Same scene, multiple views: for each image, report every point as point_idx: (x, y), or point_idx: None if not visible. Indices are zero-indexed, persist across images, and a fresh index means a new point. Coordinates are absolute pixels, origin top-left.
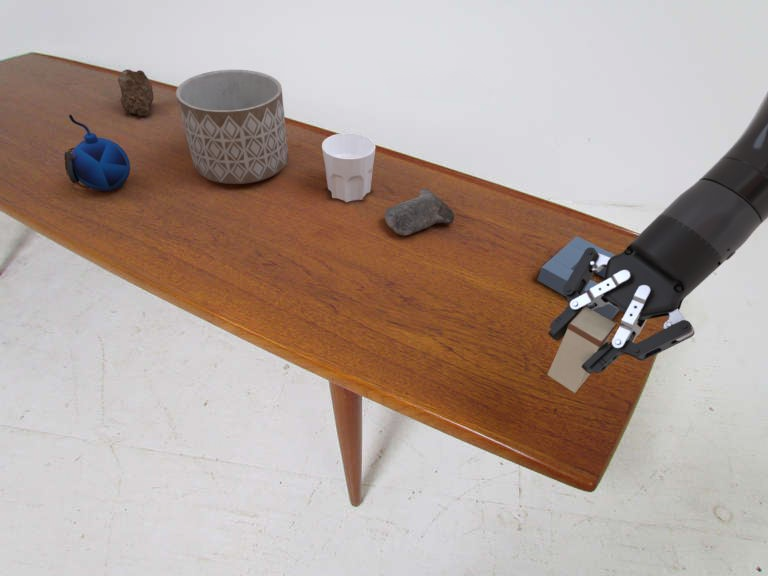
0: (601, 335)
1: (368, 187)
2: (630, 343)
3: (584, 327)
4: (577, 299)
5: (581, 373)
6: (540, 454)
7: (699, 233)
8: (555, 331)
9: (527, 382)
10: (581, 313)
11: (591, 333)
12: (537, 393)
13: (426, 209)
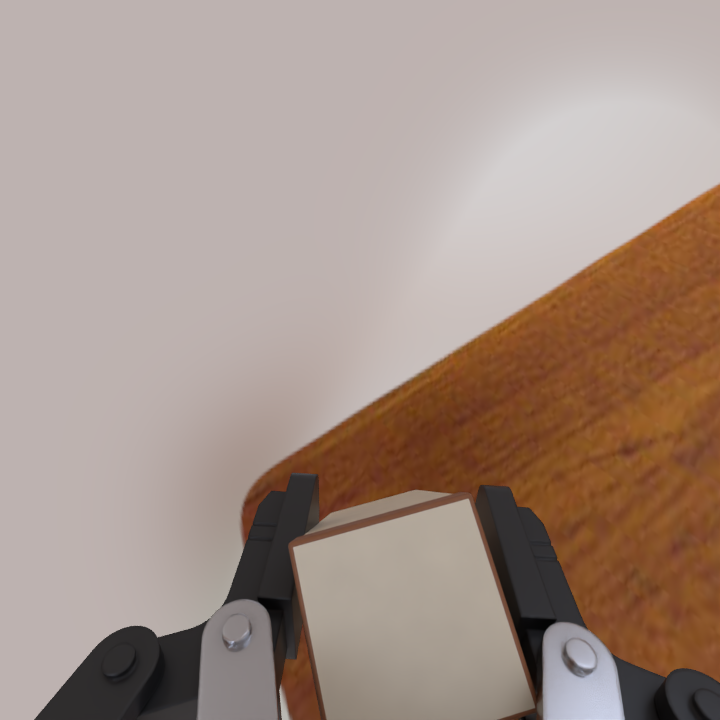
0: (320, 584)
1: None
2: (183, 690)
3: (410, 546)
4: (605, 692)
5: (331, 517)
6: (324, 444)
7: None
8: (494, 499)
9: None
10: (500, 623)
11: (360, 545)
12: None
13: None
